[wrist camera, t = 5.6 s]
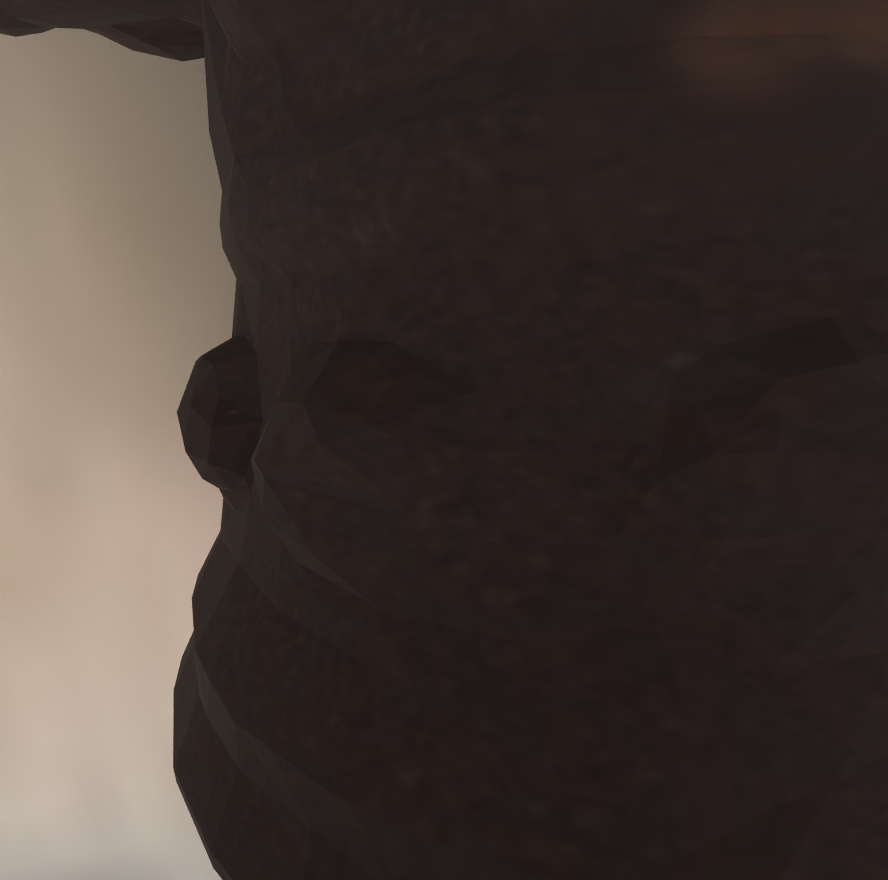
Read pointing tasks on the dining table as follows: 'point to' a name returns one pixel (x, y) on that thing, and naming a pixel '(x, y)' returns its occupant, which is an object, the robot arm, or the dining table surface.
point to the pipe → (538, 437)
